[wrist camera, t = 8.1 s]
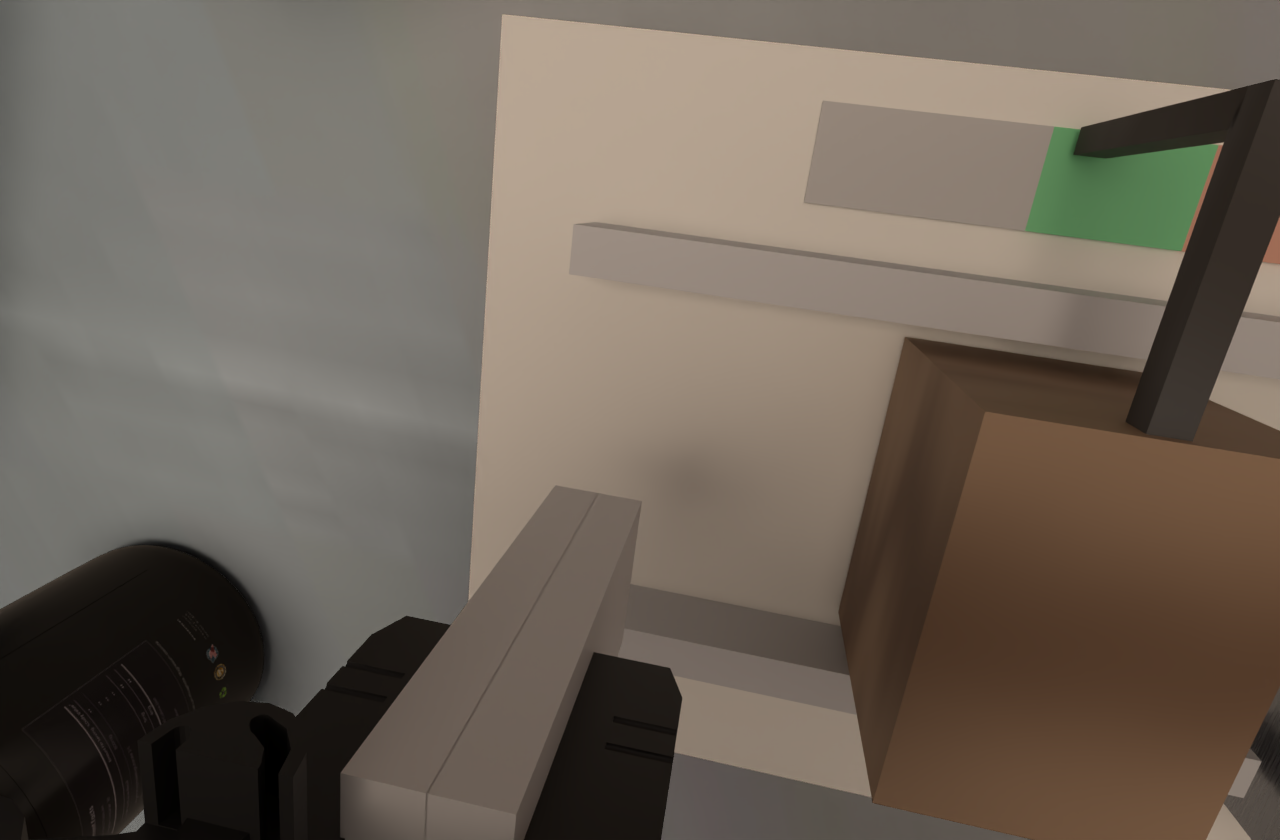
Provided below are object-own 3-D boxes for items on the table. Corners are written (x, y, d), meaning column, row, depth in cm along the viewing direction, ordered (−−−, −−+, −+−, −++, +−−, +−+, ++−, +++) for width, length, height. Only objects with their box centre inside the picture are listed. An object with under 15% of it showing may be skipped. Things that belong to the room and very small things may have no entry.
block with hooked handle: (1048, 653, 17) (1188, 875, 11) (838, 612, 18) (872, 802, 12) (1229, 146, 14) (1560, 104, 8) (958, 115, 14) (1087, 56, 9)
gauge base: (1244, 841, 20) (1342, 970, 16) (481, 672, 22) (432, 753, 19) (1596, 144, 14) (1852, 125, 11) (524, 30, 17) (465, -13, 13)
